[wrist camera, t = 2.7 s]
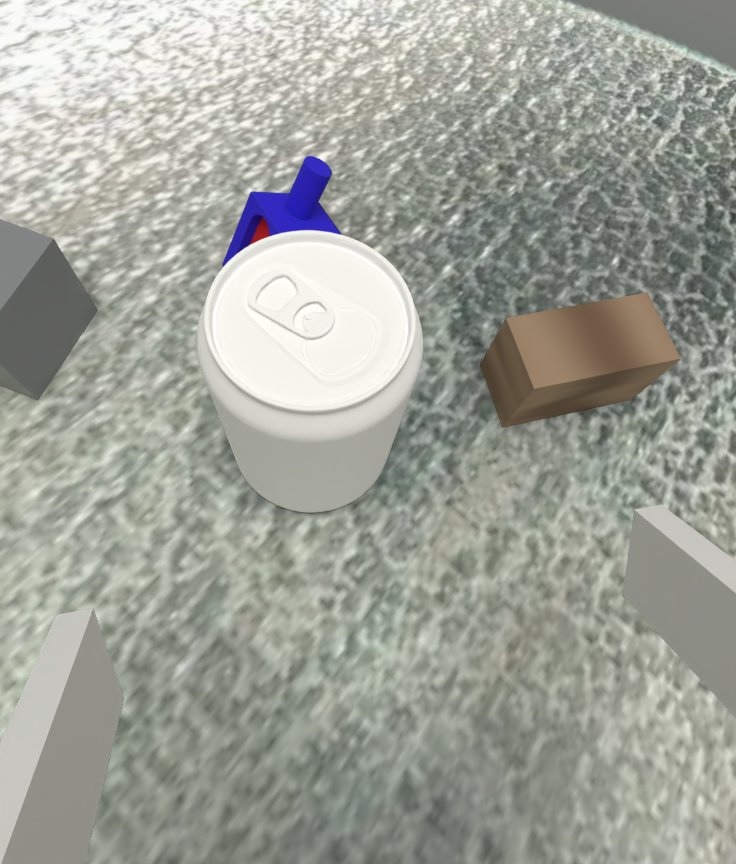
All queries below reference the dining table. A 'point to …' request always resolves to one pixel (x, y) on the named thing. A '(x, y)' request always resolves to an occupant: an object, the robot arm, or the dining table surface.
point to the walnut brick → (576, 358)
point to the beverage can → (310, 364)
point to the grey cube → (37, 309)
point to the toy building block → (285, 209)
